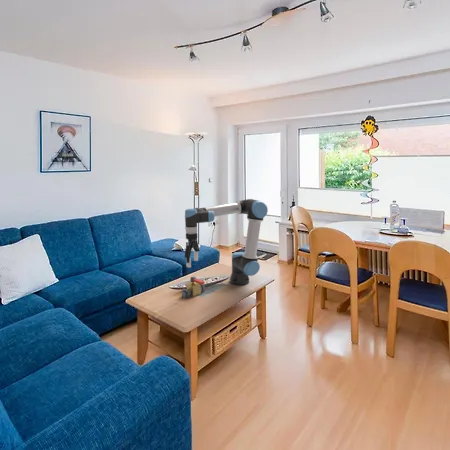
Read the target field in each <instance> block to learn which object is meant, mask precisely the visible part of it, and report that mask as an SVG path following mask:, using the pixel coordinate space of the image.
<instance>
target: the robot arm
mask: <svg viewBox="0 0 450 450" xmlns="http://www.w3.org/2000/svg"><path fill="white" fill-rule="evenodd" d="M184 210H185V211H184V220H185V221H184V222H185V226H184V229H185V239H186V240H187V242H185V249H184V250H185V251H184V258H185V259H186V260H185V261H186V264H185V266H186V268H192V261H191V260H192V259H191V254H192V250H193V261H194V262H198V261H199V252H200V247H199V241H198V224H202V223H203V224H204V223H211V222H212V223H213V222H214V221H215V217H219V216H228V215H232V214H234V215H235V214H238V215H246V219H247V221H248V224H247V225H248V226H247V230H246V231H247V233H246V239H245V247H244V248H245V249H244V251H239V252H238V251H237V252H234V253H232V255H231V274H230V277H229V283H230V284H233V285H235V286H245V285H248V284H249V283H250V277H253V276H255V275H257V274H258V272H259V271H260V267H261V265H260V263H259V262H258V260H259V257H258V255H257V254H258V253H257V252H258V245H259V237H260V230H261V223H262V222H263V221H264V218H265V217H266V216H267V214H268V205H267V204H266V203H265V202H264V201H261V200H258V199H253V198H246V199H242V200H237V201H235V202H233V203H232V202H231V203H226V204H219V205H218V204H217V205H212V206H206V207H200V208H199V207H194V208H186V209H184Z"/></svg>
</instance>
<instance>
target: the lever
mask: <svg viewBox="0 0 450 450" xmlns="http://www.w3.org/2000/svg"><path fill="white" fill-rule="evenodd" d="M189 280H190V282H196V283H198V284H201V285H202V284H203V285H205V281H203V280H201V279H199V278H197V276H190V279H189Z"/></svg>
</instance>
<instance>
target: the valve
mask: <svg viewBox="0 0 450 450" xmlns="http://www.w3.org/2000/svg"><path fill="white" fill-rule="evenodd" d="M185 284H186V288H182V291H181V298H183V299H190V298H191V297H196V296H199V295H201V294H202V293H205V292H206V285H205V284H202V285H201V284H198V283H196V282H191V281H189V282H186V283H185Z"/></svg>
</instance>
